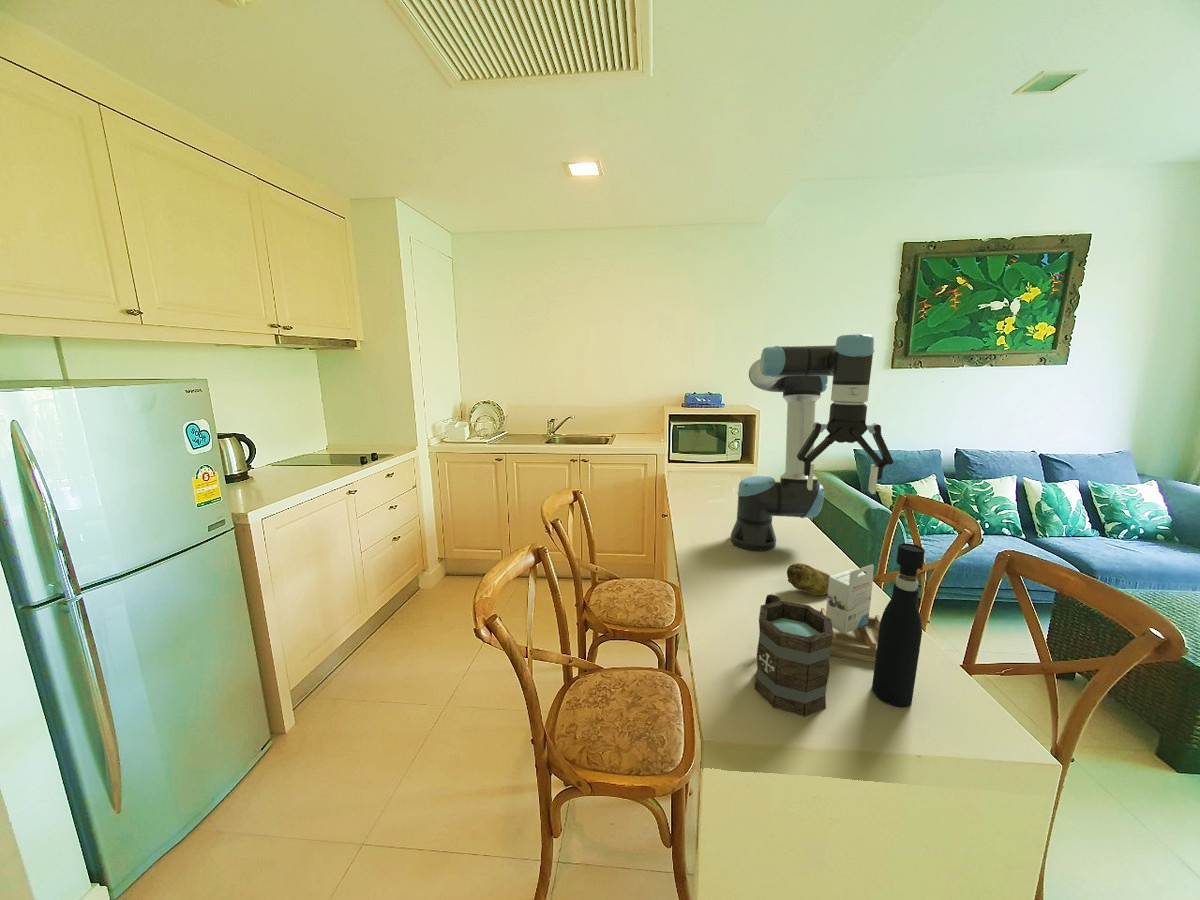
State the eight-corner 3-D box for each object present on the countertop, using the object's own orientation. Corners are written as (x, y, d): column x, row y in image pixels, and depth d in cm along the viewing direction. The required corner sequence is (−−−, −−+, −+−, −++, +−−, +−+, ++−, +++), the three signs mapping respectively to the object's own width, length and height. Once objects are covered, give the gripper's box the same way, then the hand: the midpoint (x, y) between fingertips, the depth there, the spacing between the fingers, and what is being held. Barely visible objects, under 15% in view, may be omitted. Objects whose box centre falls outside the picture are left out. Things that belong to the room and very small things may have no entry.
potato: (839, 603, 115) (842, 574, 113) (787, 596, 118) (789, 569, 116) (832, 587, 123) (834, 561, 121) (783, 582, 126) (785, 556, 124)
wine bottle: (864, 683, 86) (881, 541, 80) (894, 681, 86) (914, 539, 81) (888, 708, 80) (908, 556, 74) (920, 706, 80) (943, 554, 74)
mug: (842, 716, 78) (850, 642, 75) (766, 716, 78) (771, 641, 75) (796, 646, 97) (801, 585, 94) (735, 646, 98) (738, 585, 95)
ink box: (847, 613, 103) (854, 555, 100) (868, 624, 98) (876, 563, 96) (823, 623, 99) (829, 563, 96) (844, 635, 95) (851, 572, 92)
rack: (785, 617, 108) (786, 602, 108) (876, 629, 103) (878, 614, 102) (793, 649, 96) (794, 633, 95) (896, 665, 91) (899, 648, 90)
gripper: (793, 403, 101) (786, 491, 105) (917, 405, 95) (905, 498, 99) (788, 401, 108) (782, 483, 112) (903, 402, 102) (893, 489, 106)
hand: (840, 490), depth 106 cm, fingers open, 13 cm apart
